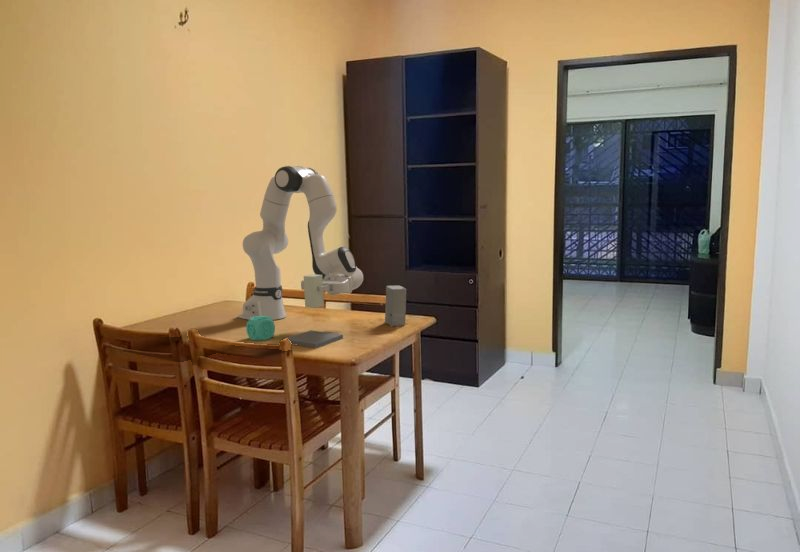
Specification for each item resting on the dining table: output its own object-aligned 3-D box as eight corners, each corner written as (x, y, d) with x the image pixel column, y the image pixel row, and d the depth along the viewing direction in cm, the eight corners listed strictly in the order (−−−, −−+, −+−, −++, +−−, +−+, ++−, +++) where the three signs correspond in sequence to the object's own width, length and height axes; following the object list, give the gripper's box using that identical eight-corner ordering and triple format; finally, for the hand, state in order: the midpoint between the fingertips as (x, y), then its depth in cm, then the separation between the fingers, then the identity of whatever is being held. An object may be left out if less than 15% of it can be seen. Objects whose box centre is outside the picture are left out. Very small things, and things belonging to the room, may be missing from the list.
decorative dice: (264, 334, 242) (263, 314, 241) (275, 337, 237) (274, 317, 235) (246, 338, 237) (245, 318, 236) (257, 341, 231) (256, 321, 230)
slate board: (282, 343, 228) (282, 339, 228) (310, 333, 242) (310, 330, 241) (316, 348, 220) (315, 344, 220) (343, 338, 233) (342, 334, 233)
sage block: (305, 307, 233) (303, 276, 231) (313, 304, 237) (312, 274, 235) (315, 308, 230) (313, 276, 229) (323, 305, 235) (322, 274, 233)
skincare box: (384, 322, 258) (383, 285, 256) (400, 321, 261) (399, 284, 259) (391, 326, 251) (390, 288, 248) (407, 325, 253) (406, 287, 251)
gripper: (313, 274, 249) (290, 279, 237) (354, 276, 238) (332, 281, 226) (314, 289, 249) (291, 295, 238) (355, 292, 239) (333, 298, 227)
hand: (312, 288), depth 232 cm, fingers closed on sage block, 5 cm apart
